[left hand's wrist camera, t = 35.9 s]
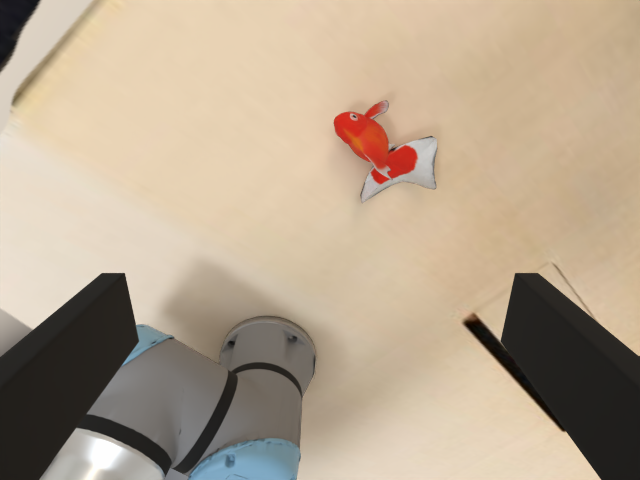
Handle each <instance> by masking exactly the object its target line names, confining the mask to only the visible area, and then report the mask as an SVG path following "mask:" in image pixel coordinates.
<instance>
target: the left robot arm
mask: <svg viewBox="0 0 640 480" xmlns="http://www.w3.org/2000/svg"><path fill="white" fill-rule="evenodd" d="M501 342H502V344H503V345H504V347H505V348H506V349H507V351H508V352H509V353H510V355H511V356H512V358H513V359H514V360H515V362H516V363H517V364H518V366H519V367H520V369H521V370H522V371H523V373H524V374H525V375H526V377H527V378H528V380H529V381H530V382H531V384H532V385H533V386H534V388H535V389H536V391H537V392H538V393H539V395H540V396H541V397H542V399H543V400H544V402H545V403H546V404H547V406H548V407H549V408H550V410H551V411H552V413H553V414H554V415H555V417H556V418H557V419H558V421H559V422H560V424H561V425H562V426H563V428H564V429H565V430H566V432H567V433H568V435H569V436H570V437H571V439H572V440H573V441H574V443H575V444H576V446H577V447H578V448H579V450H580V451H581V452H582V454H583V455H584V457H585V458H586V459H587V461H588V462H589V463H590V465H591V466H592V468H593V469H594V470H595V472H596V473H597V474H598V476H599V477H600V479H601V480H640V356H638V355H636V354H635V353H634V352H633V351H632V350H630V349H629V348H628V347H627V346H626V345H624V344H623V343H622V342H621V341H619V340H618V339H617V338H616V337H615V336H613V335H612V334H611V333H610V332H609V331H607V330H606V329H605V328H604V327H603V326H601V325H600V324H599V323H598V322H596V321H595V320H594V319H593V318H592V317H590V316H589V315H588V314H587V313H586V312H584V311H583V310H582V309H581V308H580V307H578V306H577V305H576V304H575V303H573V302H572V301H571V300H570V299H569V298H567V297H566V296H565V295H564V294H563V293H561V292H560V291H559V290H558V289H557V288H555V287H554V286H553V285H552V284H551V283H549V282H548V281H547V280H546V279H544V278H543V277H542V276H541V275H540V274H538V273H515V277H514V281H513V286H512V291H511V295H510V300H509V305H508V309H507V314H506V319H505V323H504V328H503V333H502V338H501ZM316 361H317V357H316V352H315V347H314V344H313V342H312V340H311V338H310V337H309V336H308V334H307V333H306V332H305V331H304V330H303V329H302V328H301V327H299V326H298V325H296V324H295V323H293V322H291V321H288V320H286V319H283V318H279V317H272V316H261V317H255V318H251V319H248V320H245V321H243V322H241V323H240V324H238V325H237V326H235V327H234V328H233V329H232V330H231V331H230V332H229V334H228V335H227V337H226V338H225V341H224V343H223V346H222V348H221V352H220V365H219V364H217V363H216V362H214V361H212V360H211V359H209V358H207V357H205V356H204V355H202V354H200V353H198V352H197V351H195V350H193V349H191V348H190V347H188V346H186V345H184V344H183V343H181V342H179V341H178V340H176V339H174V336H172V335H166V334H164V333H162V332H160V331H158V330H156V329H154V328H152V327H150V326H148V325H143V324H140V325H136V323H135V319H134V314H133V309H132V305H131V300H130V295H129V291H128V286H127V281H126V277H125V273H102V274H100V275H99V276H98V277H97V278H96V279H94V280H93V281H92V282H91V283H89V284H88V285H87V286H86V287H85V288H83V289H82V290H81V291H80V292H79V293H77V294H76V295H75V296H74V297H73V298H71V299H70V300H69V301H68V302H67V303H65V304H64V305H63V306H62V307H60V308H59V309H58V310H57V311H56V312H54V313H53V314H52V315H51V316H50V317H48V318H47V319H46V320H45V321H44V322H42V323H41V324H40V325H39V326H37V327H36V328H35V329H34V330H33V331H31V332H30V333H29V334H28V335H27V336H25V337H24V338H23V339H22V340H21V341H19V342H18V343H17V344H16V345H15V346H13V347H12V348H11V349H10V350H8V351H7V352H6V353H5V354H4V355H2V356H1V357H0V480H39V479H40V480H164V479H165V477H166V475H167V473H168V470H169V468H172V469H174V470H176V471H178V472H180V473H182V474H184V475H186V476H188V477H189V478H188V480H297V473H298V466H299V462H300V458H301V454H300V433H301V413H302V397H303V395H304V393H305V391H306V389H307V387H308V385H309V383H310V381H311V379H312V377H313V375H314V377H315V372H316ZM52 461H53V462H52ZM51 462H52V463H51ZM50 463H51V465H50ZM49 465H50V466H49ZM48 466H49V467H48ZM47 468H48V469H47ZM46 469H47V470H46ZM45 470H46V471H45ZM44 472H45V473H44ZM43 473H44V474H43ZM42 474H43V476H42ZM41 476H42V477H41ZM40 477H41V478H40Z"/></svg>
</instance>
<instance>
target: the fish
mask: <svg viewBox="0 0 640 480" xmlns="http://www.w3.org/2000/svg"><path fill="white" fill-rule="evenodd" d="M388 107H389V103H388V101H381V102H380V103H378V104H375V105H374V106H372V107H371V108H370V109H369V110H368V111H367V112H366V113H365V115H362V114H358V113H355V112H344V113H341V114H339V115H338V116H337V117H336V118H335V119H334V126H335V132H336V134H337V135H338V136H339V137H340V138H341V139H342V140H343V141H344V142H345V143H347V144H349V146H350V147H351V149H352V150H353V151H354V153H356V154H357V155H358V156H359V157H361V158H362V159H364V160H366V161H368V162H371V163H372V164H373V167H372V169H371V171H370V172H369V174H368V176H367V178H366V181H365V183H364V186H363V189H362V192H361V201H362V203H363V202H365V201H366V200H368V199H370V198H371V197H373V196H374V195H376V194H377V193H379V192H380V191H382V190H384V189H386V188H388V187H389V186H391V185H394V184H396V183H399V182H402V181H403V182H410V183H415V184H418V185H421V186H423V187H426V188H429V189H436V182H435V178H434V162H435V156H436V152H437V140H436V138H434V137H432V136H430V137H426V138H422V139H419V140H415V141H412V142H409V143H406V144H404V145H401V146H399V147H396V148H393V149H391V148H392V147H393V146H395V145H394V144H389V143H388V138H387V135H386V133H385V131H384V129H383V128H382V127H381V126H380V125H379V124H378V123H377V122H376V121H374V120H373V118H375V117H376V116H377V115H379V114H382V113H385V112H386V111H387V109H388ZM390 149H391V150H390ZM389 150H390V151H389Z"/></svg>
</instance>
